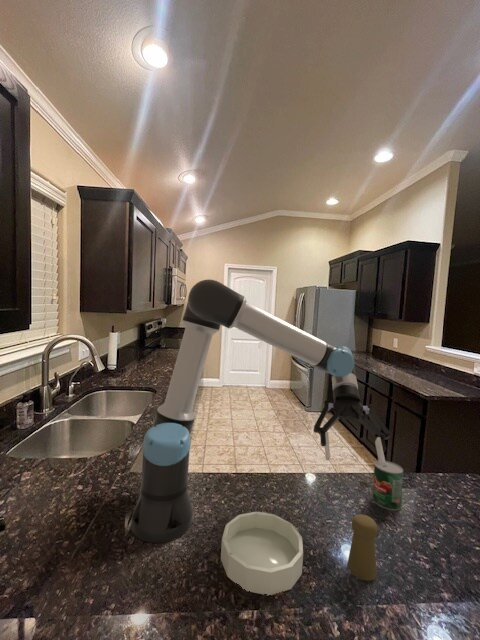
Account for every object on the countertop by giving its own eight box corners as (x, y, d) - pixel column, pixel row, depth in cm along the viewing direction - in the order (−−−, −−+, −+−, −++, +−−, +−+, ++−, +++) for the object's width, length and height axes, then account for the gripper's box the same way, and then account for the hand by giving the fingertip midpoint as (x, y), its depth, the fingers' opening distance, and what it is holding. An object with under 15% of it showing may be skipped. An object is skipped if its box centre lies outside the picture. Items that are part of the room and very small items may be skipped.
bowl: (213, 584, 59) (214, 562, 59) (230, 525, 76) (231, 507, 76) (303, 602, 56) (305, 578, 56) (299, 536, 74) (300, 518, 74)
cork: (380, 583, 61) (383, 530, 62) (349, 577, 63) (352, 525, 63) (373, 561, 67) (376, 512, 67) (345, 555, 69) (348, 507, 69)
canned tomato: (404, 503, 91) (406, 467, 91) (397, 514, 85) (399, 476, 85) (377, 491, 96) (379, 457, 96) (368, 501, 90) (370, 465, 90)
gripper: (384, 400, 93) (401, 472, 78) (303, 393, 96) (304, 461, 81) (391, 386, 87) (411, 461, 73) (305, 380, 91) (307, 450, 76)
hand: (354, 461), depth 77 cm, fingers open, 13 cm apart
